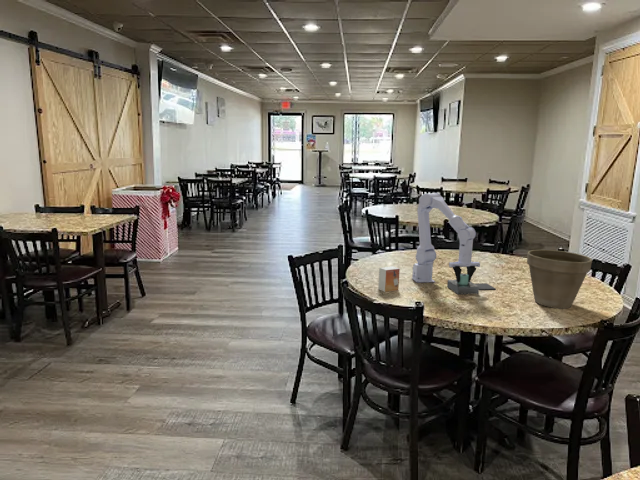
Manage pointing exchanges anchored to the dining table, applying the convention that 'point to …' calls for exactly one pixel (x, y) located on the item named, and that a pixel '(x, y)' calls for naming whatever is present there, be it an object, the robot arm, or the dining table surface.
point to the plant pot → (557, 276)
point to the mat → (485, 286)
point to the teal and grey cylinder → (463, 279)
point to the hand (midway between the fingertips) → (463, 281)
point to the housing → (463, 287)
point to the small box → (388, 279)
